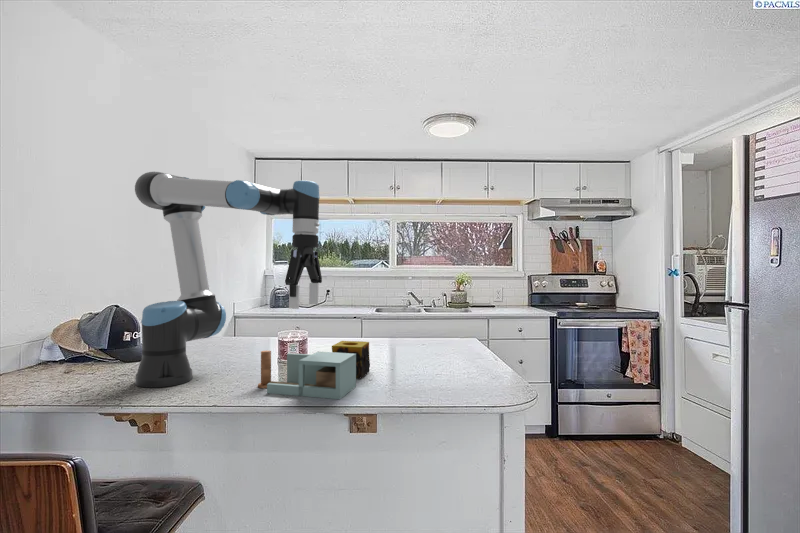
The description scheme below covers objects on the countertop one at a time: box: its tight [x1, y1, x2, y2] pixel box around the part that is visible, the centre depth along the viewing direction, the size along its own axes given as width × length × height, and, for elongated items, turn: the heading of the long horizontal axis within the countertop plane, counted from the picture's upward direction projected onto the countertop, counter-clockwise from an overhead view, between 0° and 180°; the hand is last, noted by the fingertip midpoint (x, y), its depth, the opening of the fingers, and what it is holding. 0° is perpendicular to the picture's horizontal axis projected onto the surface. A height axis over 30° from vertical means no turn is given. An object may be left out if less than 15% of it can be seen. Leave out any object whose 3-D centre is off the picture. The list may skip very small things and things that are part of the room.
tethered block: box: [257, 349, 336, 389], centre depth 127 cm, size 25×6×10 cm, turn 76°
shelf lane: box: [266, 351, 357, 400], centre depth 126 cm, size 21×12×10 cm, turn 76°
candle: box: [331, 340, 371, 380], centre depth 143 cm, size 10×10×10 cm
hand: (304, 306), depth 133 cm, fingers open, 13 cm apart
